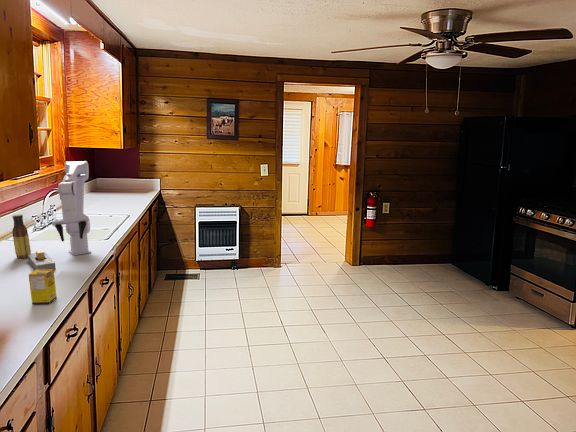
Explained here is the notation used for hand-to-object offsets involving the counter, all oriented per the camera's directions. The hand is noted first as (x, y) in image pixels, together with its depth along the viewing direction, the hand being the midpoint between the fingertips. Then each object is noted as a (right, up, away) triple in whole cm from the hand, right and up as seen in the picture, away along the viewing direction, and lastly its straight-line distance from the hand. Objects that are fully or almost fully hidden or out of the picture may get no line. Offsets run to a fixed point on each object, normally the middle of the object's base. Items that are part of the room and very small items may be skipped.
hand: (72, 239), depth 216 cm
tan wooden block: (-12, -11, -4) cm, 16 cm away
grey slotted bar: (-12, -11, -4) cm, 16 cm away
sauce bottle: (-26, -9, +9) cm, 29 cm away
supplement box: (+11, -19, -47) cm, 52 cm away
